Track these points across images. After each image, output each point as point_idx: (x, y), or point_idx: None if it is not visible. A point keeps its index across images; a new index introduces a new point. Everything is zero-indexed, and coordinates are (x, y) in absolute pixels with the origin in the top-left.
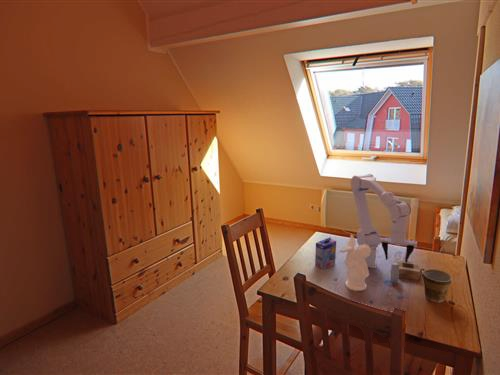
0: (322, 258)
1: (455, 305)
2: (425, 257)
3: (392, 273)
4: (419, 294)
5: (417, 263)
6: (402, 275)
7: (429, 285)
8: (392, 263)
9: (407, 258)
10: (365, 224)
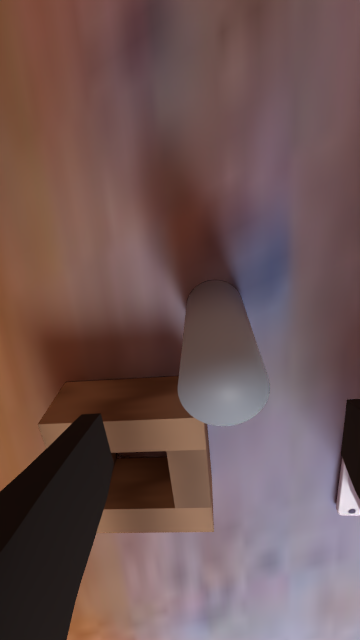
0: None
1: None
2: (84, 603)
3: (237, 311)
4: (18, 176)
5: None
6: (164, 385)
7: None
8: (257, 396)
9: (45, 458)
10: None
